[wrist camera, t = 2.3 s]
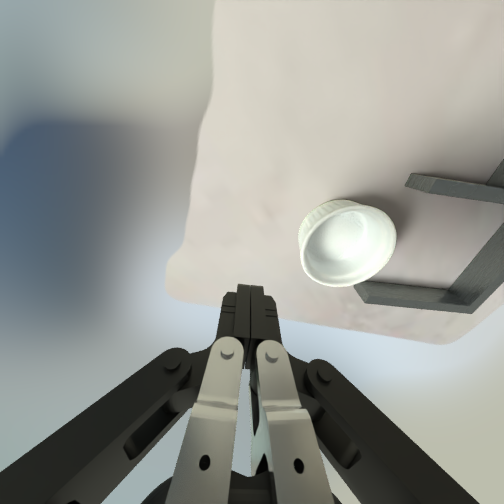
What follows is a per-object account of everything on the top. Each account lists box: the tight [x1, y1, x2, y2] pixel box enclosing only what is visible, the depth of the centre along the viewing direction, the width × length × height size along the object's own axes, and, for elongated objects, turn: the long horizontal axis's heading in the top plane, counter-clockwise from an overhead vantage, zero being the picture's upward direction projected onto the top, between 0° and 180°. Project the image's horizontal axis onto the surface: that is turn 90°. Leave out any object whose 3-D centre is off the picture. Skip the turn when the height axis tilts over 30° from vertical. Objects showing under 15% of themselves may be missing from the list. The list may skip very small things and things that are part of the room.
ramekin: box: [298, 200, 397, 287], centre depth 20 cm, size 9×9×4 cm
